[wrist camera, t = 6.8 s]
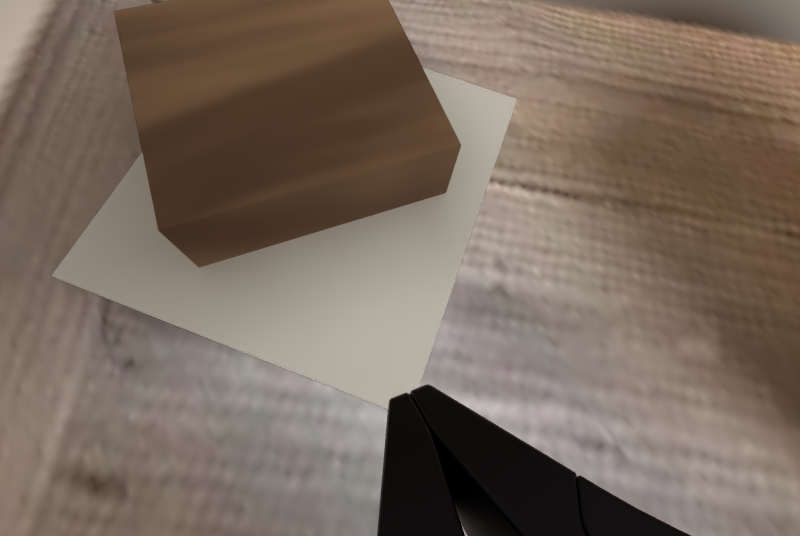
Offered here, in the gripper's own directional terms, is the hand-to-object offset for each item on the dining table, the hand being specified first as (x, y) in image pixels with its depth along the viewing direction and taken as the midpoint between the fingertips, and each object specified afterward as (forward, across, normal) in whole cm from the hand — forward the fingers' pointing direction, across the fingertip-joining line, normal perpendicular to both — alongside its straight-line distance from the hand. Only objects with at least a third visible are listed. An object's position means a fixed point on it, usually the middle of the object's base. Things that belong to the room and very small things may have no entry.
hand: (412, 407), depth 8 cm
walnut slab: (+8, 0, -2) cm, 8 cm away
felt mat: (+11, 0, -3) cm, 11 cm away
